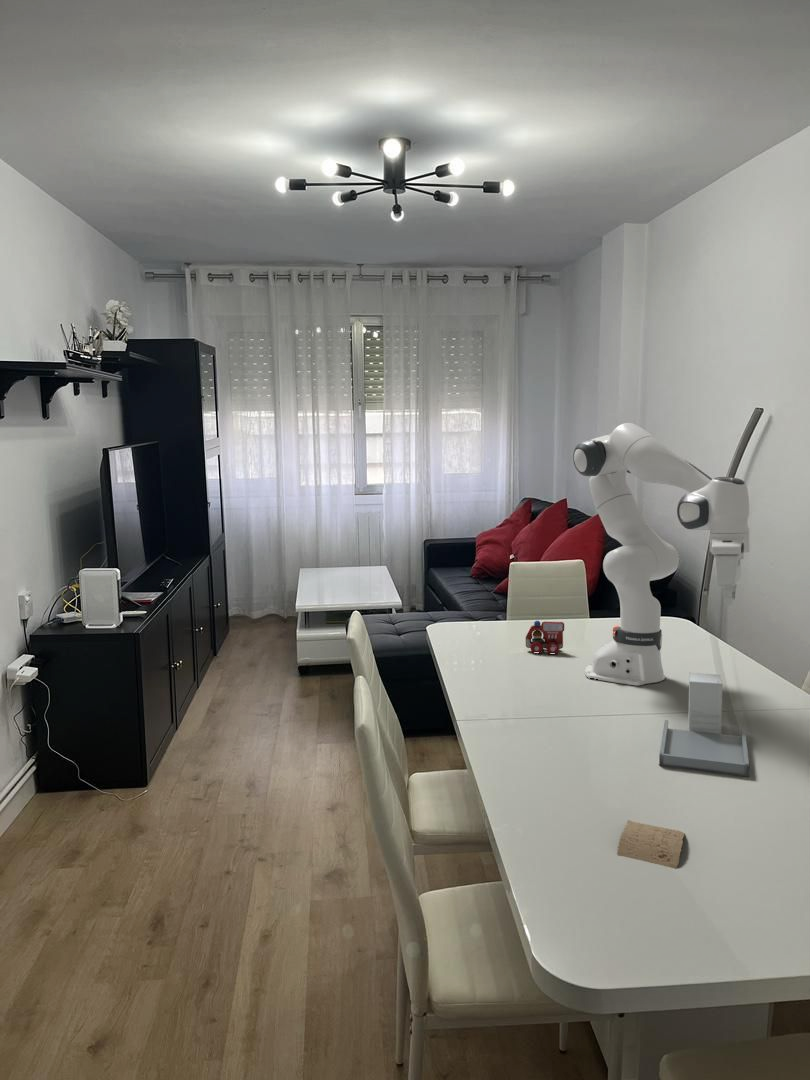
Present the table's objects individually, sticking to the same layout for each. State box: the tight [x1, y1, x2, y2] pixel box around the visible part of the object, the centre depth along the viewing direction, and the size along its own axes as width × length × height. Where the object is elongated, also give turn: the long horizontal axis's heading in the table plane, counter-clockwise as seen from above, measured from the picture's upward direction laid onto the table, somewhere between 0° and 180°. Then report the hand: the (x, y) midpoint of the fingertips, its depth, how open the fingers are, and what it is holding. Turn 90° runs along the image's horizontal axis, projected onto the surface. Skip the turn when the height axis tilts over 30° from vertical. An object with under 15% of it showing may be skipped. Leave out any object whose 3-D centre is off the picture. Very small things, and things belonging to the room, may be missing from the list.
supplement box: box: [687, 672, 724, 734], centre depth 190 cm, size 7×7×13 cm
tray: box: [658, 719, 750, 778], centre depth 177 cm, size 18×22×2 cm
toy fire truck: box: [525, 620, 565, 654], centre depth 258 cm, size 7×12×10 cm, turn 75°
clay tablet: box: [616, 819, 686, 869], centre depth 138 cm, size 14×10×3 cm
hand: (729, 602), depth 191 cm, fingers open, 8 cm apart
